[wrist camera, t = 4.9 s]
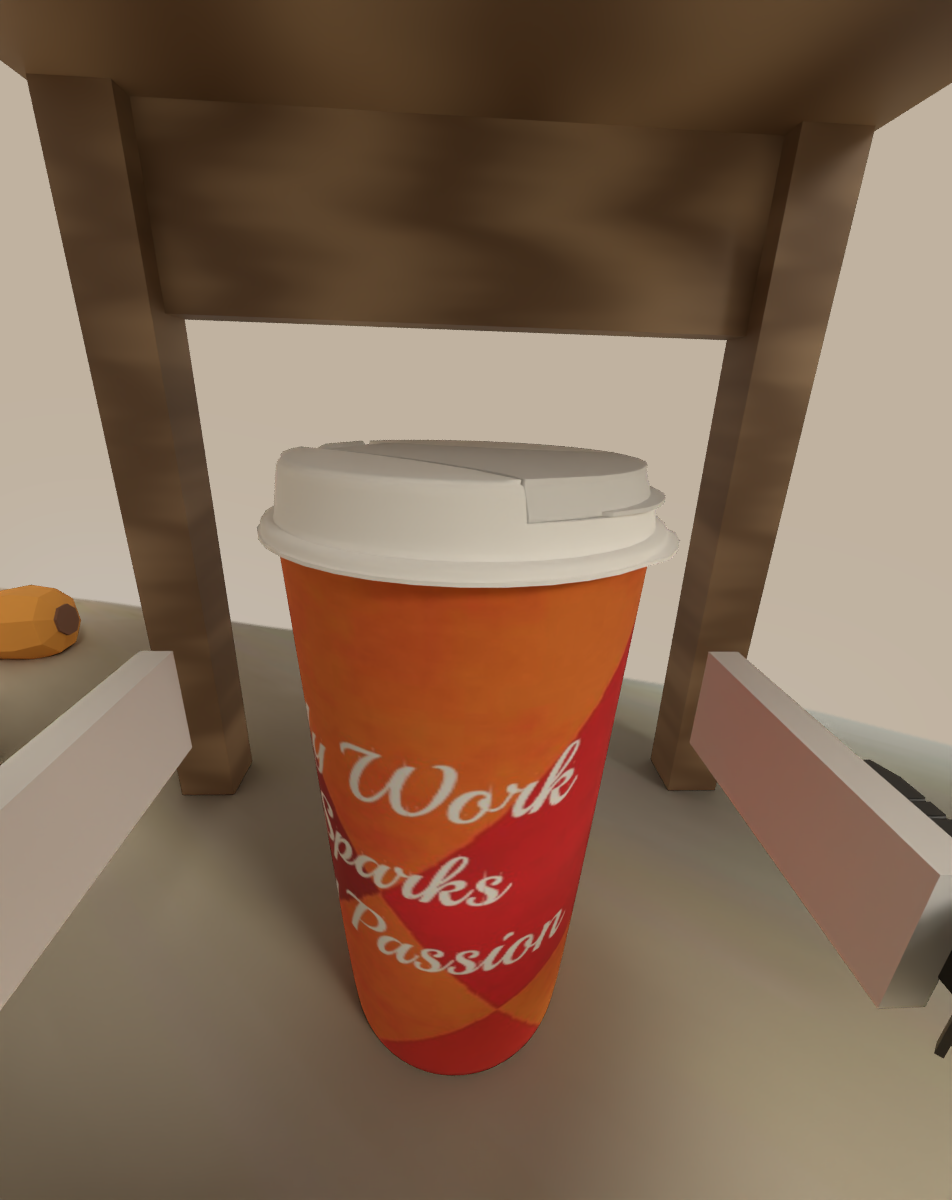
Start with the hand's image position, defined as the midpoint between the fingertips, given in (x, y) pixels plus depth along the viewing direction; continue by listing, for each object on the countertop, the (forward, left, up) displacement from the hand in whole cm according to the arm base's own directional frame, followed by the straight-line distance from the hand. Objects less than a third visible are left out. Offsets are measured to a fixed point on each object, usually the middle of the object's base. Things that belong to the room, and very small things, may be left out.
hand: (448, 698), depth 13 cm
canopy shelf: (0, +1, -8) cm, 8 cm away
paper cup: (0, +1, -8) cm, 8 cm away
